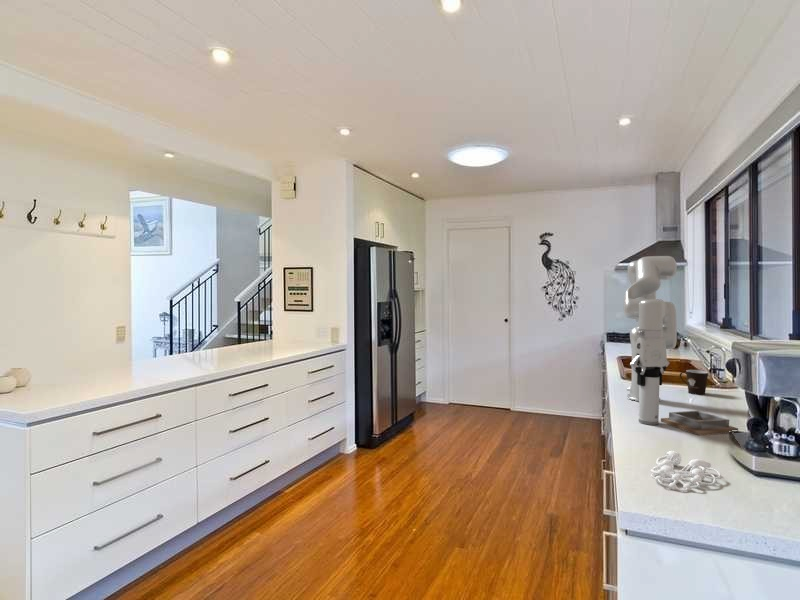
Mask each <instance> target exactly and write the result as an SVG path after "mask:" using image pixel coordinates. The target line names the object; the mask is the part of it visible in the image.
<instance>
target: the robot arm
mask: <svg viewBox="0 0 800 600" xmlns="http://www.w3.org/2000/svg"><path fill="white" fill-rule="evenodd" d="M677 267H678V266H677V262H676V260H675V258H674V257H673V256H670V255H653V256H651V255H650V256H643V257H641V258H639V259H637V260H632V261H630V262H629V263H628V265H627V276H628V279H629V283H630V285H629V287H628V288H627V289H626V291H625V292H624V295H623V313H624V315H625V317H626V318H628V319H632V320H633V319H634V320H635V322H638V326H634V327H632V328H631V329H630V332H629V339H630V341H629V342H630V346H631V347H630V349H631V362H630V363H629V366H630V367H631V382H630V383H631V385H630V386H629V387H627V388H626V391H628V392H629V393H628V394H627V397H628V398H629V399H628V398H627V397H626V398H627V399H628V400H630V399H631V401H634V400H635V402H639V385H640V386H645V375H644V372H645V370H646V367H647V368H649V367H660V368H661V369H660V372H659V377H660V378H659V386H662V385H663V375H664V374H665V371H666V369H667V368H668V366H669V365H670V361H669V360H668V357H667V356H668V355H667V353H668V352H667V350H673V349H675V347H676V345H677V339H678V338H677V334H678V333H677V332H678V331H677V329H678V328H677V309H676V306H675V304H674V303H673V302H670V301H665V300H662V299H660V298H657V291H658V290H660V287H661V283H662V282H661V280H663V281H665V280H671V279H673V278H674V277H675V276H676V274H677V270H678V269H677ZM641 368H642V369H641ZM660 401H661V397H659V402H660Z"/></svg>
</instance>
